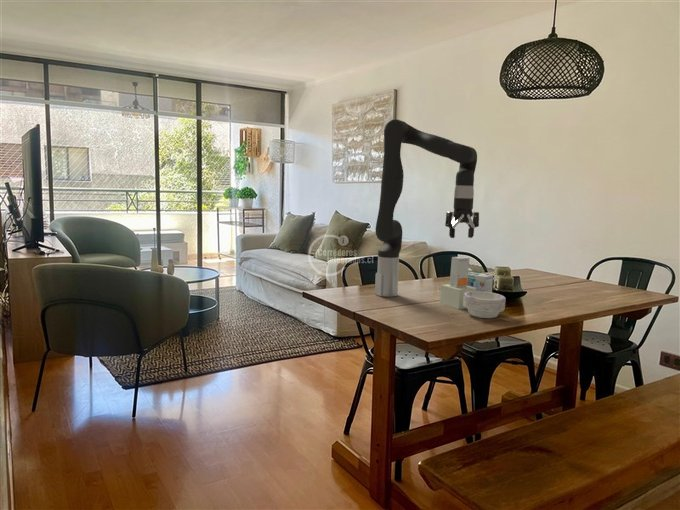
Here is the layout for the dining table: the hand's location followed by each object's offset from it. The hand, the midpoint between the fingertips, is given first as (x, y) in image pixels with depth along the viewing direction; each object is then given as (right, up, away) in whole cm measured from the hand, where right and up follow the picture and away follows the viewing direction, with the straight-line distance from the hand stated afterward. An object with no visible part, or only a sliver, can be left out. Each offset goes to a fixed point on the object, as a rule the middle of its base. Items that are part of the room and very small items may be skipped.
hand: (461, 237), depth 198 cm
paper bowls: (+5, -30, -12) cm, 33 cm away
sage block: (-1, -28, +3) cm, 28 cm away
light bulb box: (+11, -26, +18) cm, 33 cm away
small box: (+9, -24, +34) cm, 43 cm away
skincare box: (-1, -20, +3) cm, 20 cm away
